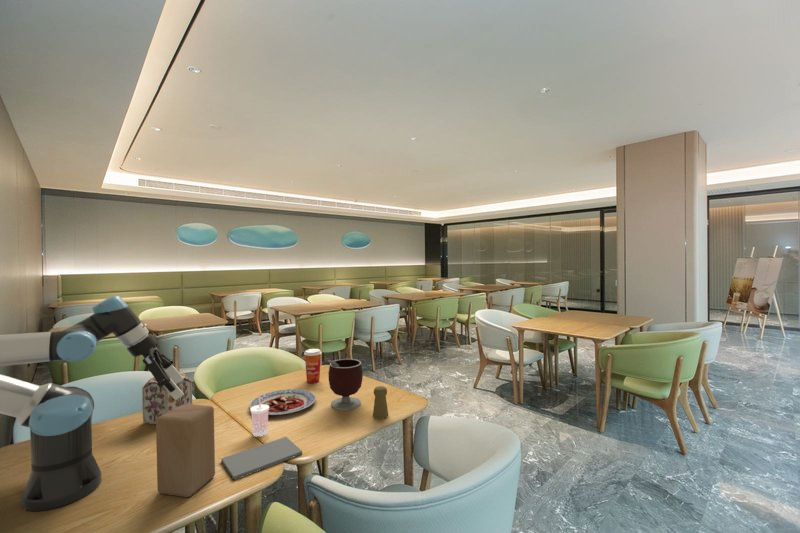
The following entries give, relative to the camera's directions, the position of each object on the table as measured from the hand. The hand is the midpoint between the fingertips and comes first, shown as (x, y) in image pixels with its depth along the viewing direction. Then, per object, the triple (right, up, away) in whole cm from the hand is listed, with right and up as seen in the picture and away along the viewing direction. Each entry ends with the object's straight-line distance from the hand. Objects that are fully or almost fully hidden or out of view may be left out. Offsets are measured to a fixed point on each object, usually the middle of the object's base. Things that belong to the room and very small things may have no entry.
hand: (179, 388), depth 123 cm
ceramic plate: (+26, -16, +27) cm, 41 cm away
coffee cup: (+31, -15, +57) cm, 67 cm away
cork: (+67, -16, +17) cm, 71 cm away
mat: (+32, -17, -12) cm, 38 cm away
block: (+17, -18, -25) cm, 35 cm away
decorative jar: (-14, -17, +16) cm, 27 cm away
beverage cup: (+26, -17, +3) cm, 31 cm away
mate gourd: (+51, -16, +28) cm, 60 cm away
